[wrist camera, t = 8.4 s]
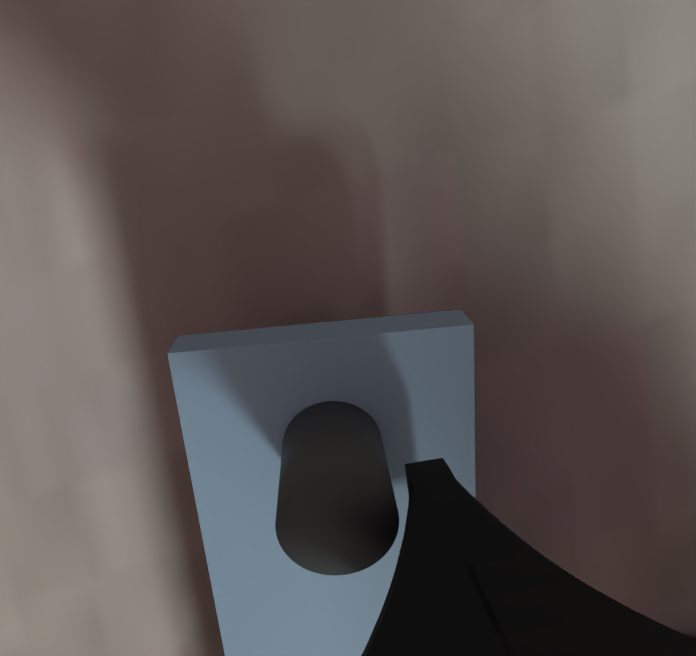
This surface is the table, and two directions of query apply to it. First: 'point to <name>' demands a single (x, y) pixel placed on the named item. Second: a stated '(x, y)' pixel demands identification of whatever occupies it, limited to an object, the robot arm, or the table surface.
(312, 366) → the cover
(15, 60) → the table surface
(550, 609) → the robot arm
